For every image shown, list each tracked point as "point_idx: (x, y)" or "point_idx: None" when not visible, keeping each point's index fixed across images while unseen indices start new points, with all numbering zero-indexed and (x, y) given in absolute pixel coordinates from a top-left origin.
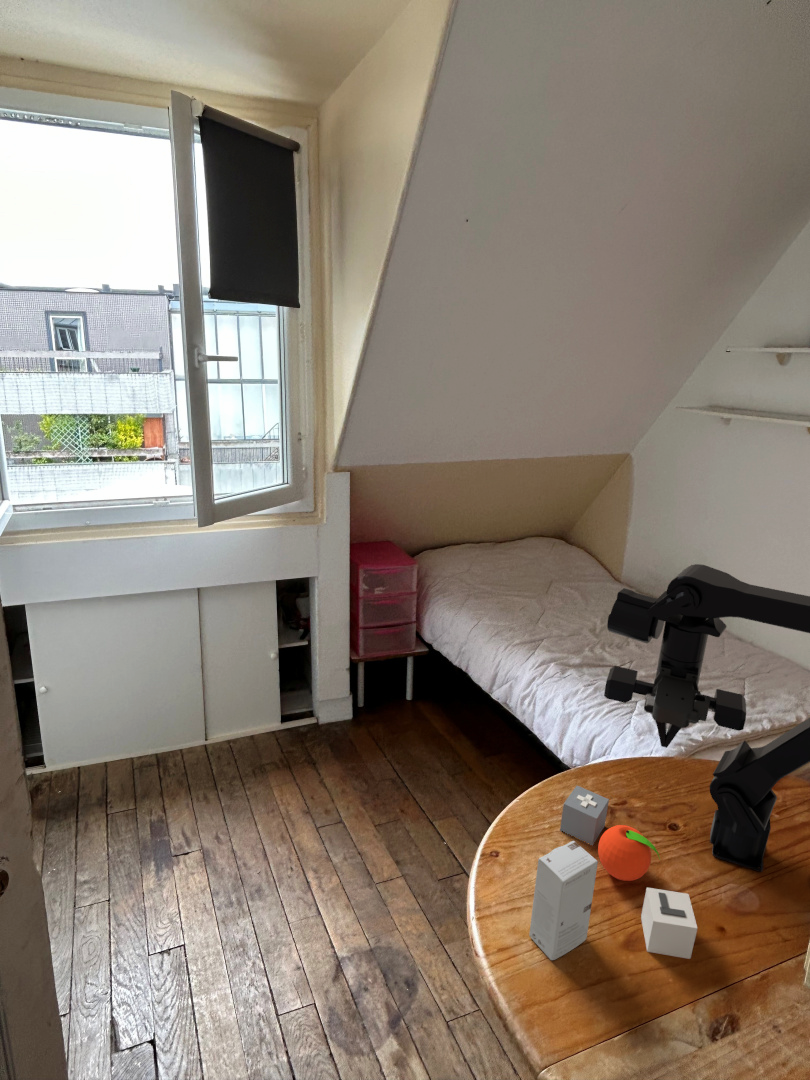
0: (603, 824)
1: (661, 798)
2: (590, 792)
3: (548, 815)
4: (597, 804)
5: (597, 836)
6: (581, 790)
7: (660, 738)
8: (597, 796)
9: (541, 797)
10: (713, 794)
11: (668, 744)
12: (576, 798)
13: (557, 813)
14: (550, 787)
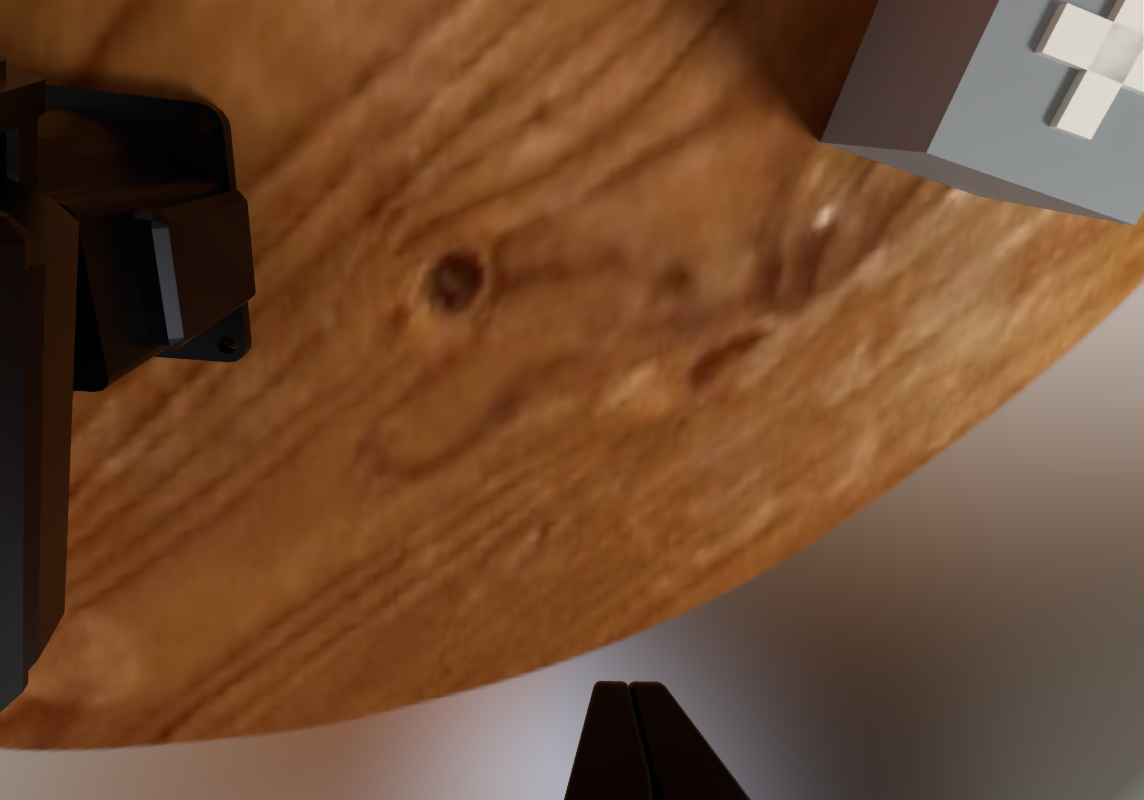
0: (848, 110)
1: (521, 467)
2: (1052, 179)
3: None
4: (1029, 48)
5: (880, 9)
6: (1113, 179)
7: (727, 780)
8: (1009, 150)
9: (1134, 245)
10: (37, 228)
11: (593, 723)
12: None
13: None
14: (1069, 340)
